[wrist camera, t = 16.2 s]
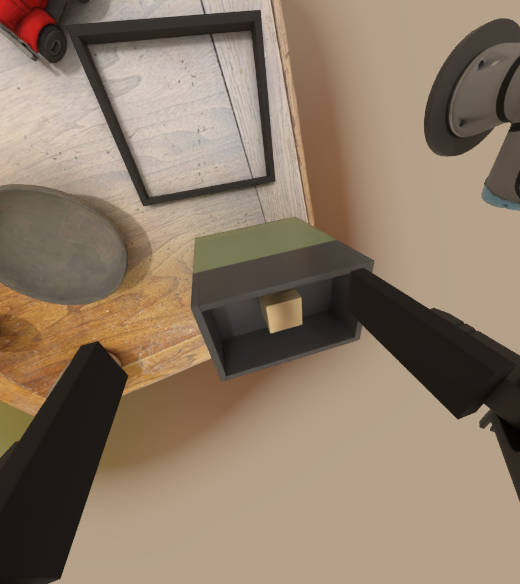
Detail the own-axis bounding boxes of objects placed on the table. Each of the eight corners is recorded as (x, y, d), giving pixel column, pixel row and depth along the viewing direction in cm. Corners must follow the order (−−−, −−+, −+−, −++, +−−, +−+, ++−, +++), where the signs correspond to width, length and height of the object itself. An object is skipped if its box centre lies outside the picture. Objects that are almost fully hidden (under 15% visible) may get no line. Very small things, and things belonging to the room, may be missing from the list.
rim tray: (256, 19, 32) (260, 9, 29) (271, 180, 44) (275, 181, 42) (74, 35, 28) (64, 24, 26) (146, 204, 40) (143, 206, 38)
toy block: (288, 280, 35) (301, 297, 30) (290, 305, 38) (302, 324, 33) (257, 287, 34) (266, 306, 30) (261, 313, 37) (270, 333, 33)
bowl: (60, 152, 34) (26, 149, 27) (159, 249, 45) (152, 264, 39) (-27, 227, 36) (-78, 242, 29) (89, 302, 48) (71, 324, 41)
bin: (336, 239, 34) (374, 260, 27) (331, 309, 43) (359, 339, 35) (192, 273, 31) (190, 307, 24) (217, 341, 40) (221, 382, 32)
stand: (295, 216, 49) (336, 239, 34) (297, 271, 57) (331, 309, 43) (195, 238, 46) (192, 273, 31) (212, 292, 54) (217, 341, 40)
